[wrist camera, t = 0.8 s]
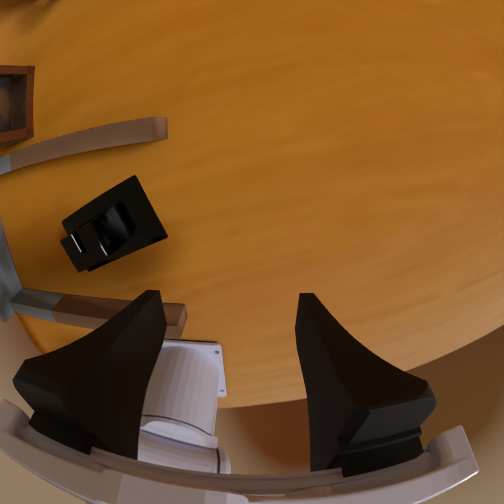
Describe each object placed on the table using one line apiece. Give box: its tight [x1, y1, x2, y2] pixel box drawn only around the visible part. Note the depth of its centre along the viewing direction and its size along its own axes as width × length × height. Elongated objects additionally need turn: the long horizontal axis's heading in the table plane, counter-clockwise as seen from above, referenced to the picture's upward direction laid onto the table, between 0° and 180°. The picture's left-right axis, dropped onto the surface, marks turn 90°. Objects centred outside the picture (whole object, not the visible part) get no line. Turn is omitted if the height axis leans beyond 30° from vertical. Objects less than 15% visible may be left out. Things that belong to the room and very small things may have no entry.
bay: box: [0, 117, 187, 339], centre depth 18 cm, size 17×23×5 cm
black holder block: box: [60, 175, 168, 273], centre depth 19 cm, size 12×7×5 cm, turn 111°
